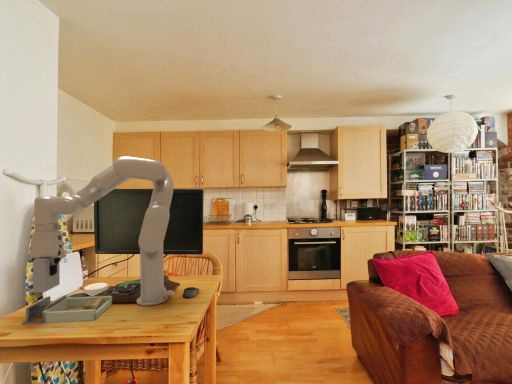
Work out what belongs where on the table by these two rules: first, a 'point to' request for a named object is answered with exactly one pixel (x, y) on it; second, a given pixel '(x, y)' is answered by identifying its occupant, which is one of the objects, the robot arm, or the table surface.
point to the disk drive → (126, 287)
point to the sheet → (44, 275)
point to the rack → (60, 315)
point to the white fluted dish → (95, 288)
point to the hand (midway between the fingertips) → (46, 274)
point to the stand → (39, 309)
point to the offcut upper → (93, 304)
